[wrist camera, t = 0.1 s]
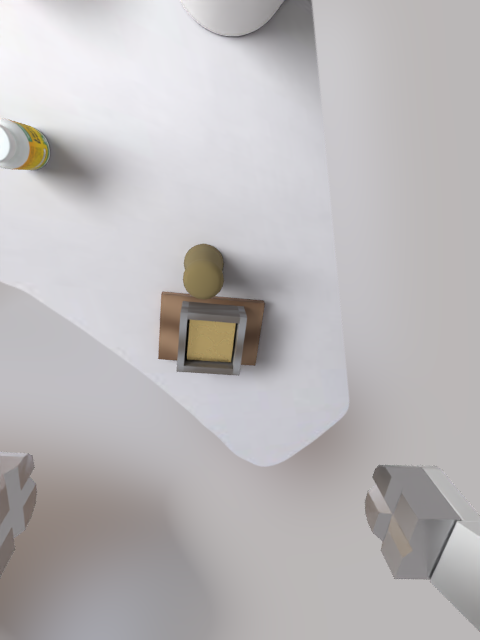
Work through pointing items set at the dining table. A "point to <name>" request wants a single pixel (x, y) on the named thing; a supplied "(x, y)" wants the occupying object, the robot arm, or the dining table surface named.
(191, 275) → the tan rounded piece
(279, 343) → the dining table surface
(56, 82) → the dining table surface
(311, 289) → the dining table surface
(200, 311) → the holder
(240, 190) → the dining table surface
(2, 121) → the supplement bottle
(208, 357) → the spring seat
